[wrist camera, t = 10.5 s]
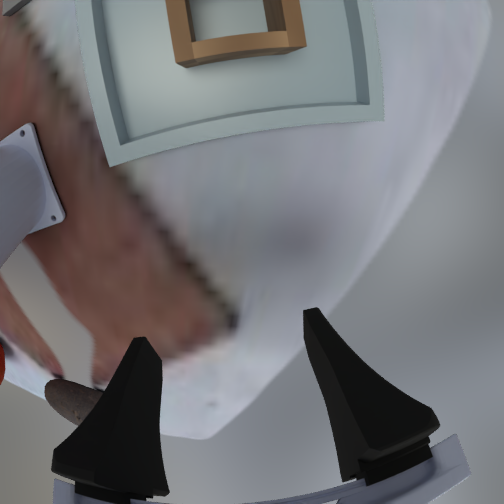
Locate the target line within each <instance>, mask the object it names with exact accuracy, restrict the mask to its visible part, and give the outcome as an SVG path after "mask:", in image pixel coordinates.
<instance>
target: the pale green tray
mask: <svg viewBox="0 0 504 504" xmlns="http://www.w3.org/2000/svg"><path fill="white" fill-rule="evenodd" d="M299 1H300V7H301V12H302V18H303V24H304V30H305V37H306V44H307V47H304V48H301V49H299V50H296V51H293V52H290V53H288V54H284V55H269V56H258V57H249V58H241V59H233V60H227V61H220V62H215V63H209V64H204V65H199V66H194V67H190V68H184V67H182V66H180V65H178V64H176V62H175V57H174V51H173V46H172V40H171V34H170V28H169V22H168V16H167V9H166V3H165V0H75V9H76V19H77V28H78V35H79V42H80V49H81V55H82V60H83V66H84V71H85V76H86V81H87V86H88V90H89V95H90V99H91V103H92V107H93V111H94V115H95V119H96V123H97V126H98V130H99V133H100V137H101V140H102V144H103V147H104V150H105V154H106V157H107V160H108V163H109V166H110V167H112V166H115V165H118V164H121V163H124V162H127V161H131V160H134V159H137V158H141V157H144V156H147V155H151V154H154V153H158V152H162V151H166V150H169V149H173V148H177V147H181V146H185V145H190V144H194V143H198V142H203V141H208V140H212V139H217V138H222V137H227V136H233V135H238V134H244V133H250V132H256V131H263V130H270V129H277V128H285V127H294V126H303V125H314V124H326V123H341V122H365V121H384V94H383V79H382V67H381V57H380V49H379V41H378V34H377V27H376V21H375V16H374V10H373V5H372V0H299ZM189 3H190V9H191V15H192V21H193V27H194V33H195V39H196V41H201V40H206V39H212V38H218V37H224V36H231V35H239V34H248V33H259V32H268V29H267V23H266V17H265V11H264V5H263V0H189Z"/></svg>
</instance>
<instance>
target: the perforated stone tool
mask: <svg viewBox="0 0 504 504" xmlns="http://www.w3.org/2000/svg"><path fill="white" fill-rule="evenodd" d="M44 393H45V397H46V400H47V401H48V402H49V404H50V405H51V406H52V407H53V408H54V409H55V410H56V411H57V412H58V413H59V414H60V415H62V416H63V417H64V418H66V419H67V420H69V421H70V422H72V423H74V424H76V425H78V426H79V425H80V424H81V423H82V422H83V420H84V419H85V418H86V417H87V415H88V414H89V413H90V412H91V410H92V409H93V408H94V406H95V405H96V403H97V402H98V400H99V399H100V397H101V396H102V394H103V392H100V391H97V390H94V389H92V388H89V387H86V386H83V385H81V384H78V383H75V382H71V381H68V380H63V379H54V380H50V381H49V382H47V384H46V386H45V391H44Z"/></svg>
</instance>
